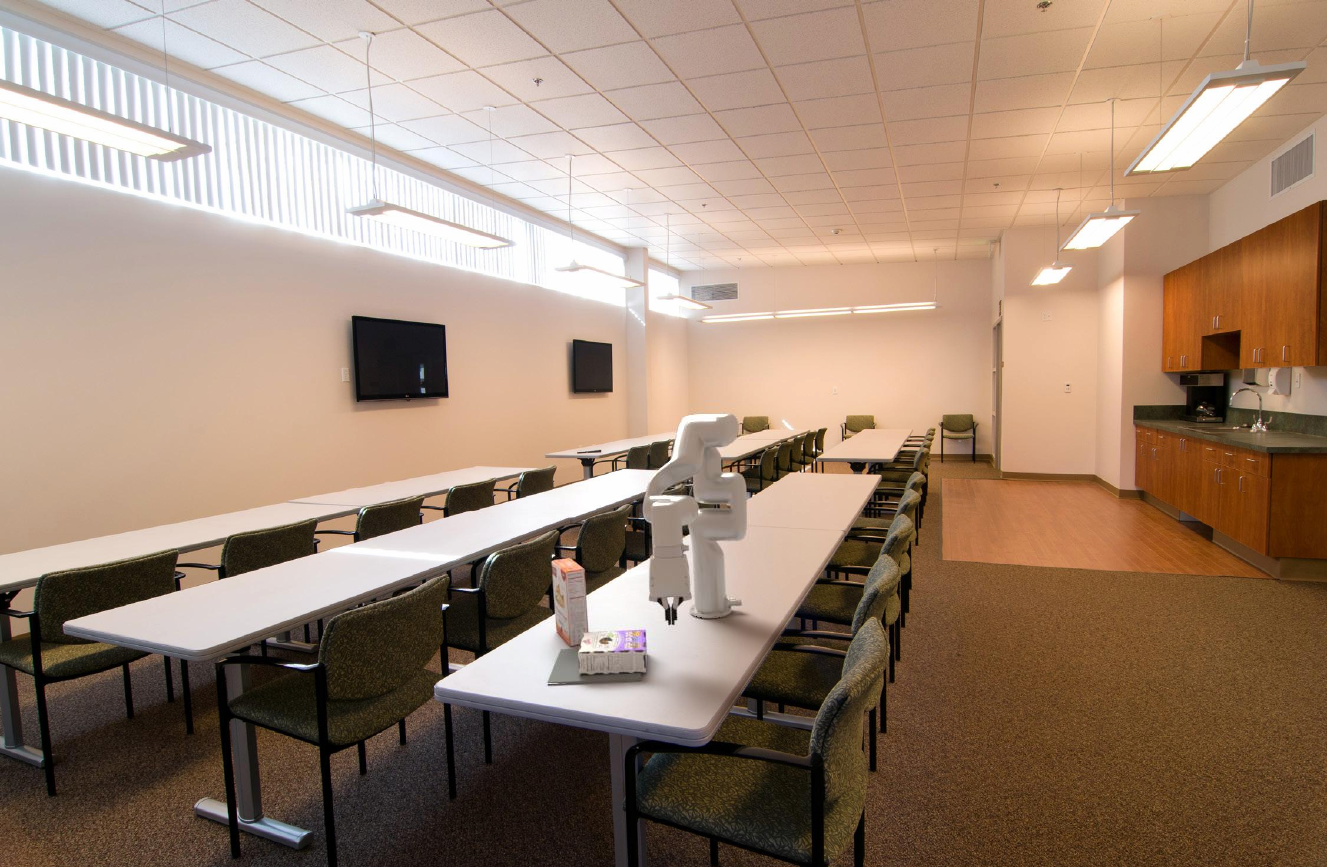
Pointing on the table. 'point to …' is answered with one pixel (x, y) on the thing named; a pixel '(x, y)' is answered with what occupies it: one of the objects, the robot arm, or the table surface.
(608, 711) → the table surface
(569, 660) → the rubber mat
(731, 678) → the table surface
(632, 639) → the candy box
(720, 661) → the table surface
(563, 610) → the cracker box
